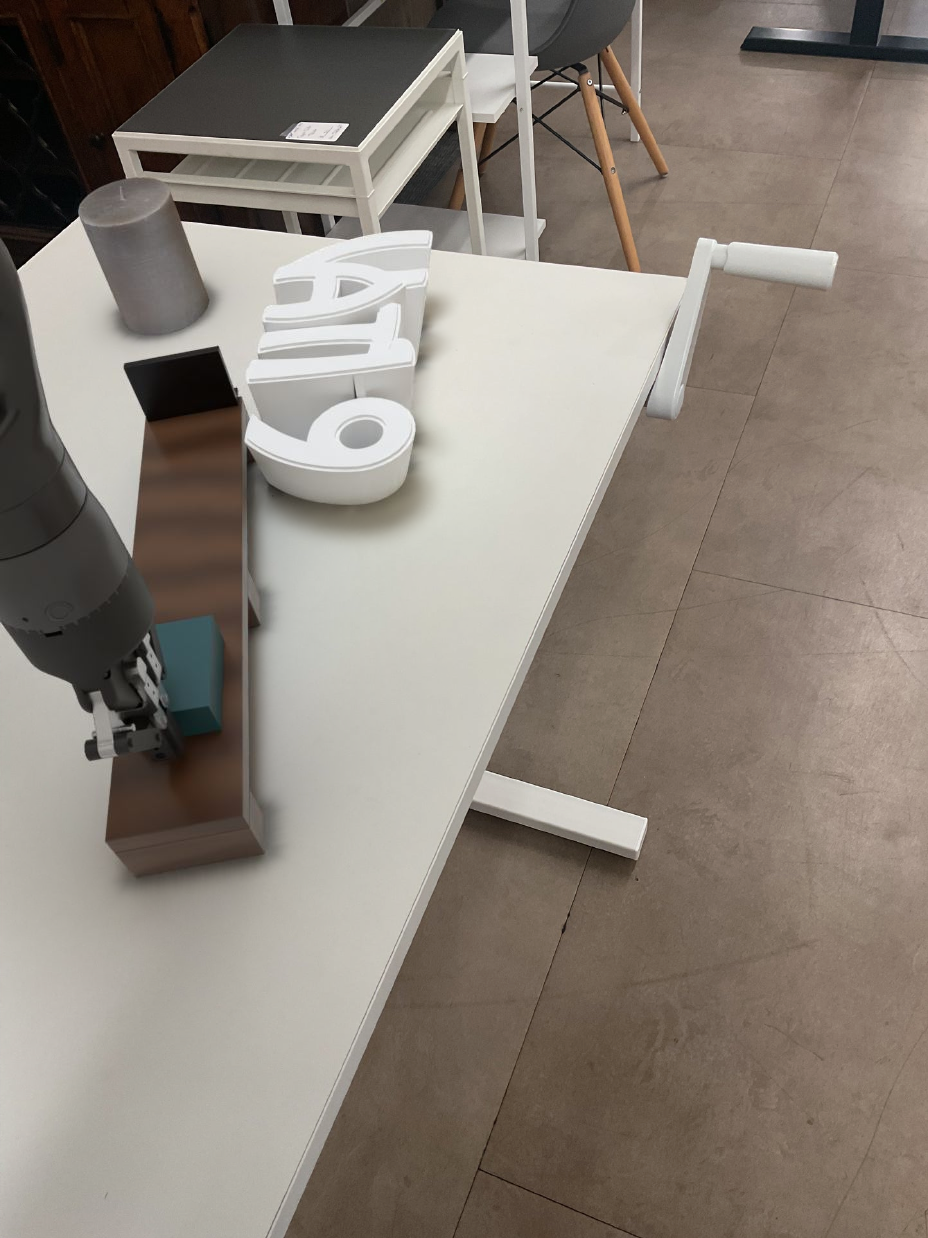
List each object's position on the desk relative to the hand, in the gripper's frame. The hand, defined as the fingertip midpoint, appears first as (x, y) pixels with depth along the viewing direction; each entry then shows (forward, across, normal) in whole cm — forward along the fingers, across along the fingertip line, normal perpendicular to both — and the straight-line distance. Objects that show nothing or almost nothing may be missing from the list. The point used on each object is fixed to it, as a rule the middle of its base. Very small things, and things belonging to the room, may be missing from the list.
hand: (169, 750), depth 67 cm
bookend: (0, -38, 0) cm, 38 cm away
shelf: (+7, -17, 0) cm, 18 cm away
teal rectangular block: (+1, -6, 0) cm, 6 cm away
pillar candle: (+6, -65, -6) cm, 65 cm away
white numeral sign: (+7, -42, +14) cm, 45 cm away
